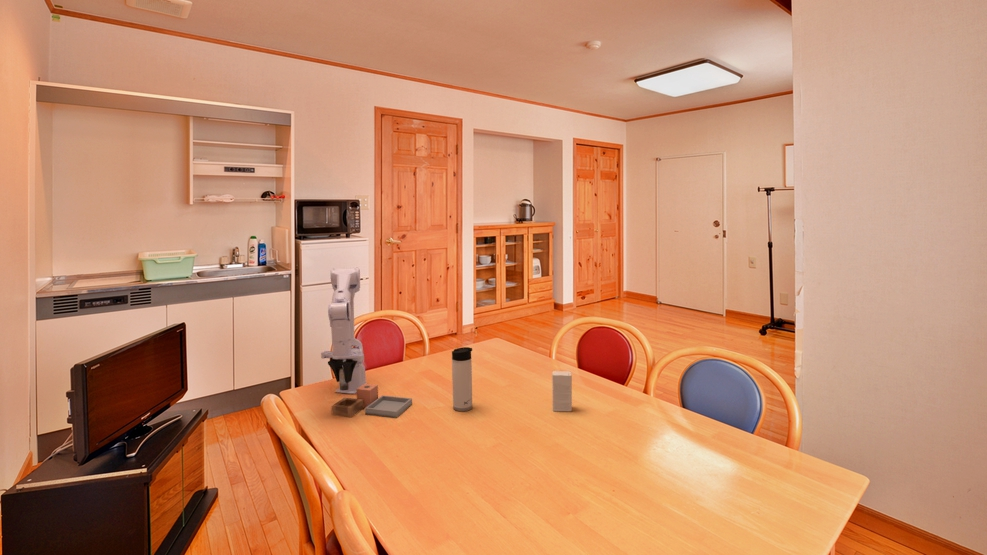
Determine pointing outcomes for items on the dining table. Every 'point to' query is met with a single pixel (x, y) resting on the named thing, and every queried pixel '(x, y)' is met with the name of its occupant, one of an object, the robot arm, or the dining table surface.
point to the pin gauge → (342, 380)
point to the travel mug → (462, 379)
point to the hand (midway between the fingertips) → (344, 381)
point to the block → (367, 393)
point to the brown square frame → (347, 407)
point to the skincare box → (562, 390)
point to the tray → (388, 406)
